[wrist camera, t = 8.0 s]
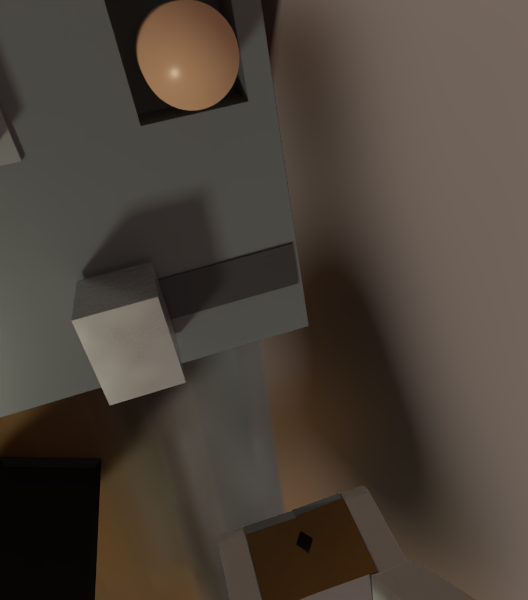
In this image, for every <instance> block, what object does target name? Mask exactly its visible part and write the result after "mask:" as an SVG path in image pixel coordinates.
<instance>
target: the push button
mask: <svg viewBox="0 0 528 600" xmlns="http://www.w3.org/2000/svg"><path fill="white" fill-rule="evenodd" d="M135 53H136V58H137V62H138V65H139V67H140V70H141V72H142V74H143V76H144V78H145V80H146V81H147V83H148V85H149V86H150V88H151V89H152V90H153V92H154V93H155V94H156V95H157V96H158V97H159V98H160V99H162V100H163V101H164V102H166V103H167V104H169V105H171V106H173V107H176V108H178V109H182V110H189V111H195V110H202V109H205V108H208V107H211V106H213V105H215V104H216V103H218V102H219V101H220V100H221V99H223V98H224V97H225V96H226V94H227V93H228V92H229V91H230V89H231V88H232V86H233V84H234V82H235V79H236V77H237V73H238V69H239V47H238V43H237V39H236V37H235V34H234V32H233V30H232V28H231V26H230V25H229V23H228V22H227V20H226V19H225V18H224V17H223V16H222V15H221V14H220V13H219V12H218V11H217V10H215V9H214V8H213V7H211V6H209V5H207V4H205V3H202V2H200V1H195V0H177V1H172V2H167V3H163V4H161V5H158V6H156V7H155V8H153V9H152V10H151V11H150V12H149V13H147V15H146V16H145V17H144V18H143V20H142V22H141V23H140V25H139V28H138V30H137V34H136V39H135Z"/></svg>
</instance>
